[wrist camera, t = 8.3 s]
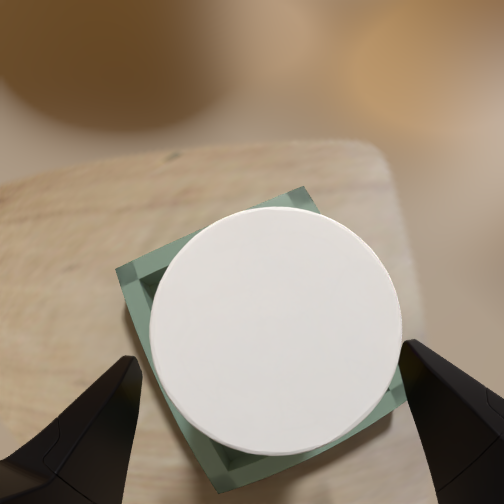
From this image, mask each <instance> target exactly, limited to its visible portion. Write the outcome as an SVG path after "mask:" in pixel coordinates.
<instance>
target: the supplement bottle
mask: <svg viewBox="0 0 504 504" xmlns="http://www.w3.org/2000/svg"><path fill="white" fill-rule="evenodd" d="M149 339H150V346H151V353H152V359H153V364H154V368H155V371H156V373H157V376H158V378H159V380H160V382H161V385H162V387H163V389H164V391H165V393H166V394H167V396H168V398H169V399H170V401H171V402H172V404H173V405H174V406H175V408H176V409H177V410H178V411H179V412H180V413H181V415H182V416H183V417H184V418H185V419H186V420H187V421H188V422H189V423H190V424H191V425H192V426H193V427H195V428H196V429H197V430H198V431H200V432H201V433H203V434H204V435H206V436H207V437H209V438H211V439H212V440H214V441H216V442H218V443H220V444H222V445H224V446H227V447H229V448H232V449H235V450H239V451H242V452H246V453H250V454H256V455H266V456H284V455H296V454H300V453H305V452H309V451H312V450H315V449H318V448H321V447H323V446H325V445H327V444H329V443H331V442H333V441H335V440H337V439H339V438H341V437H342V436H344V435H345V434H347V433H349V432H350V431H351V430H352V429H354V428H355V427H356V426H357V425H358V424H360V423H361V422H362V421H363V420H364V419H365V418H366V417H367V416H368V415H369V414H370V413H371V412H372V410H373V409H374V408H375V407H376V405H377V404H378V403H379V402H380V400H381V399H382V397H383V396H384V394H385V392H386V391H387V389H388V387H389V385H390V383H391V381H392V378H393V376H394V373H395V370H396V367H397V364H398V360H399V356H400V351H401V343H402V317H401V311H400V305H399V301H398V297H397V294H396V291H395V288H394V285H393V283H392V280H391V278H390V276H389V274H388V272H387V271H386V269H385V267H384V266H383V264H382V262H381V261H380V259H379V258H378V257H377V255H376V254H375V253H374V251H373V250H372V249H371V248H370V247H369V246H368V245H367V244H366V243H365V242H363V241H362V239H361V238H360V237H358V236H357V235H356V234H355V233H353V232H352V231H351V230H349V229H348V228H346V227H345V226H343V225H342V224H340V223H338V222H336V221H334V220H333V219H331V218H328V217H326V216H323V215H321V214H318V213H315V212H311V211H308V210H303V209H298V208H291V207H263V208H256V209H249V210H245V211H241V212H238V213H235V214H233V215H230V216H227V217H225V218H223V219H221V220H219V221H217V222H215V223H213V224H212V225H210V226H208V227H207V228H205V229H203V230H202V231H201V232H199V233H198V234H197V235H195V236H194V237H193V238H192V239H191V240H190V241H189V242H188V243H187V244H186V245H185V246H184V247H183V248H182V249H181V250H180V251H179V252H178V254H177V255H176V256H175V257H174V259H173V260H172V261H171V263H170V265H169V266H168V268H167V270H166V271H165V273H164V275H163V277H162V279H161V281H160V283H159V286H158V288H157V291H156V294H155V297H154V301H153V305H152V310H151V317H150V325H149Z"/></svg>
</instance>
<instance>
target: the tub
mask: <svg viewBox="0 0 504 504" xmlns="http://www.w3.org/2000/svg"><path fill="white" fill-rule="evenodd" d="M263 207H291V208H298V209H303V210H308V211H311V212H315V213H318V214H320V212H319V210H318V209H317V207H316V205H315V204H314V202H313V200H312V199H311V197H310V195H309V194H308V192H307V191H306V189H305V187H304V186H302V187H300V188H297V189H295V190H292V191H290V192H287V193H285V194H282V195H280V196H277V197H275V198H273V199H270V200H268V201H265V202H263V203H261V204H258V205H256V206H253V207H251V208H249V209H256V208H263ZM249 209H246V210H249ZM244 211H245V210H244ZM209 226H210V225H209ZM207 227H208V226H207ZM207 227H205V228H207ZM205 228H203V229H205ZM203 229H200V230H198V231H196V232H194V233H191V234H189V235H187V236H185V237H183V238H180V239H178V240H176V241H174V242H172V243H169V244H167V245H165V246H163V247H161V248H159V249H156V250H154V251H152V252H150V253H148V254H146V255H144V256H141V257H139V258H137V259H135V260H133V261H131V262H129V263H127V264H125V265H123V266H120V267H118V268H116V269H115V270H116V273H117V276H118V280H119V283H120V286H121V289H122V292H123V295H124V298H125V301H126V304H127V307H128V309H129V312H130V315H131V318H132V321H133V323H134V326H135V329H136V331H137V334H138V336H139V339H140V342H141V344H142V347H143V349H144V351H145V354H146V356H147V359H148V361H149V364H150V366H151V368H152V370H153V373H154V375H155V377H156V380H157V382H158V384H159V386H160V388H161V391H162V393H163V395H164V397H165V399H166V401H167V403H168V405H169V407H170V409H171V411H172V413H173V415H174V417H175V419H176V421H177V423H178V425H179V427H180V429H181V431H182V433H183V435H184V437H185V439H186V440H187V442H188V444H189V446H190V448H191V449H192V451H193V453H194V455H195V457H196V458H197V460H198V462H199V463H200V465H201V467H202V469H203V470H204V472H205V474H206V475H207V477H208V478H209V480H210V482H211V483H212V485H213V486H214V488H215V490H216V491H217V493H218V494H220V493H224V492H227V491H230V490H233V489H236V488H239V487H242V486H245V485H247V484H250V483H253V482H256V481H258V480H261V479H264V478H266V477H269V476H271V475H274V474H276V473H278V472H281V471H283V470H285V469H288V468H290V467H292V466H295V465H297V464H299V463H301V462H303V461H305V460H307V459H310V458H312V457H314V456H316V455H318V454H320V453H322V452H324V451H326V450H327V449H329V448H331V447H333V446H335V445H337V444H339V443H340V442H342V441H344V440H346V439H348V438H349V437H351V436H353V435H355V434H356V433H358V432H360V431H361V430H363V429H365V428H366V427H368V426H369V425H371V424H373V423H374V422H376V421H377V420H379V419H380V418H382V417H384V416H385V415H387V414H388V413H390V412H391V411H393V410H394V409H395V408H397V407H398V406H400V405H401V404H403V403H404V402H405V401H407V398H406V394H405V390H404V386H403V382H402V378H401V374H400V370H399V366H398V364H397V367H396V370H395V373H394V376H393V378H392V381H391V383H390V385H389V387H388V389H387V391H386V392H385V394H384V396H383V397H382V399H381V400H380V402H379V403H378V404H377V405H376V407H375V408H374V409H373V410H372V412H371V413H370V414H369V415H368V416H367V417H366V418H365V419H364V420H363V421H362V422H361V423H360V424H358V425H357V426H356V427H355V428H354V429H352V430H351V431H350V432H349V433H347V434H345V435H344V436H342V437H341V438H339V439H337V440H335V441H333V442H331V443H329V444H327V445H325V446H323V447H321V448H318V449H315V450H312V451H309V452H305V453H300V454H296V455H284V456H266V455H256V454H250V453H246V452H242V451H239V450H235V449H232V448H229V447H227V446H224V445H222V444H220V443H218V442H216V441H214V440H212V439H211V438H209V437H207V436H206V435H204V434H203V433H201V432H200V431H198V430H197V429H196V428H195V427H193V426H192V425H191V424H190V423H189V422H188V421H187V420H186V419H185V418H184V417H183V416H182V415H181V413H180V412H179V411H178V410H177V409H176V408H175V406H174V405H173V404H172V402H171V401H170V399H169V398H168V396H167V394H166V393H165V391H164V389H163V387H162V385H161V382H160V380H159V378H158V376H157V373H156V371H155V368H154V364H153V359H152V353H151V346H150V339H149V325H150V317H151V310H152V305H153V301H154V297H155V294H156V291H157V288H158V286H159V283H160V281H161V279H162V277H163V275H164V273H165V271H166V270H167V268H168V266H169V265H170V263H171V261H172V260H173V259H174V257H175V256H176V255H177V254H178V252H179V251H180V250H181V249H182V248H183V247H184V246H185V245H186V244H187V243H188V242H189V241H190V240H191V239H192V238H193V237H194V236H195V235H197V234H198V233H199V232H201V231H202V230H203Z"/></svg>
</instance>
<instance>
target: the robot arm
mask: <svg viewBox="0 0 504 504" xmlns="http://www.w3.org/2000/svg"><path fill="white" fill-rule="evenodd" d="M398 366H399V370H400V374H401V378H402V382H403V386H404V390H405V394H406V398H407V401H408V404H409V407H410V410H411V413H412V415H413V418H414V421H415V424H416V427H417V430H418V433H419V436H420V439H421V443H422V446H423V449H424V452H425V456H426V459H427V462H428V466H429V469H430V473H431V476H432V480H433V484H434V487H435V491H436V496H437V500H438V504H504V399H503V398H502V397H500V396H499V395H497V394H496V393H494V392H493V391H491V390H490V389H488V388H486V387H485V386H484V385H482V384H481V383H480V382H478V381H477V380H475V379H474V378H472V377H471V376H469V375H468V374H466V373H465V372H463V371H462V370H460V369H459V368H458V367H456V366H454V365H453V364H452V363H450V362H449V361H447V360H446V359H444V358H443V357H441V356H440V355H438V354H437V353H435V352H434V351H432V350H431V349H429V348H428V347H426V346H425V345H423V344H422V343H420V342H419V341H417V340H416V339H411V340H406V341H404V343H403V345H402V348H401V351H400V356H399V360H398ZM142 378H143V376H142V371H141V369H140V366H139V364H138V361H137V359H136V357H135V356H126V355H125V356H122V357H121V358H120V359H119V360H118V361H117V362H116V363H115V364H114V365H112V366H111V367H110V368H109V369H108V370H107V371H106V372H105V373H104V374H103V375H102V376H101V377H99V378H98V379H97V380H96V381H95V382H94V383H93V384H92V385H91V386H90V387H89V388H88V389H87V390H85V391H84V392H83V393H82V394H81V395H80V396H79V397H78V398H77V399H76V400H75V401H74V402H73V403H72V404H70V405H69V406H68V407H67V408H66V409H65V410H64V411H63V412H62V413H61V414H60V415H59V416H58V418H55V419H54V420H53V421H52V422H51V423H50V424H49V425H48V426H47V427H46V428H44V429H43V430H42V431H41V432H40V433H39V434H37V435H36V436H35V437H34V438H32V439H31V440H30V441H28V442H27V443H26V444H24V445H23V446H22V447H20V448H19V449H18V450H16V451H15V452H14V453H13V454H11V455H10V456H8V457H7V458H5V459H3V460H0V504H122V499H123V493H124V487H125V481H126V475H127V470H128V464H129V459H130V454H131V449H132V444H133V439H134V435H135V430H136V425H137V420H138V414H139V405H140V396H141V387H142Z"/></svg>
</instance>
